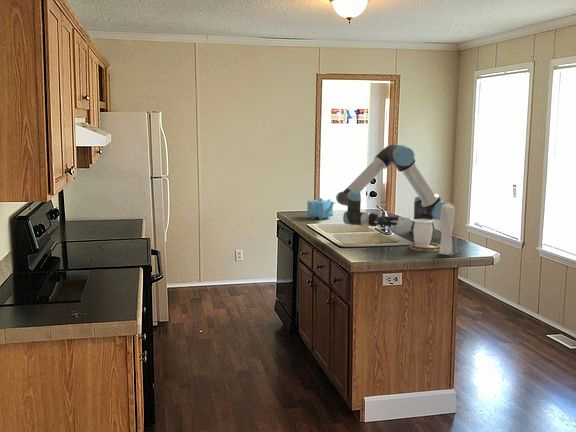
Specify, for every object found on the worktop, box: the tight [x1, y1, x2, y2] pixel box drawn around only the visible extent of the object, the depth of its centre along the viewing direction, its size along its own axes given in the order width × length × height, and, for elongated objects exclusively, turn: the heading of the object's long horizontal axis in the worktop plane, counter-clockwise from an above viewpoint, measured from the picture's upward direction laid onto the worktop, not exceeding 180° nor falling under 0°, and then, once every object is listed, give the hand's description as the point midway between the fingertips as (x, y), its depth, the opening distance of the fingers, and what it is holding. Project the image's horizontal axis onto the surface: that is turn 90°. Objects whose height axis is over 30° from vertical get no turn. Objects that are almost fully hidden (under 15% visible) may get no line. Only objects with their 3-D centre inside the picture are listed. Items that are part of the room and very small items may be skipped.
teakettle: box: [306, 197, 337, 221], centre depth 437 cm, size 19×19×15 cm
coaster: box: [408, 241, 440, 253], centre depth 336 cm, size 17×17×2 cm
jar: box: [412, 219, 434, 248], centre depth 334 cm, size 11×10×15 cm
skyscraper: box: [438, 202, 458, 256], centre depth 322 cm, size 8×8×28 cm
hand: (406, 222), depth 340 cm, fingers open, 13 cm apart
